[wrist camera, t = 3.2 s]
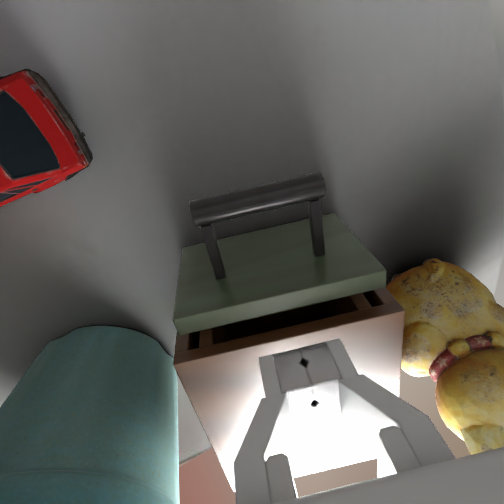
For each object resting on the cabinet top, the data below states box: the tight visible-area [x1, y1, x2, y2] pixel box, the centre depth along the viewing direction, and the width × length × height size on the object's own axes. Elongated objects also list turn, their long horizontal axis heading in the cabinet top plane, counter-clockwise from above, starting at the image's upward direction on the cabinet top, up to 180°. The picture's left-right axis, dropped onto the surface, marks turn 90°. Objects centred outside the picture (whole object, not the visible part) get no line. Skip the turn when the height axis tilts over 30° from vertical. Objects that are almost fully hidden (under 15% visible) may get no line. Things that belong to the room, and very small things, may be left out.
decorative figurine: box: [386, 258, 504, 455], centre depth 22 cm, size 10×8×15 cm
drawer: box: [173, 172, 386, 348], centre depth 22 cm, size 18×11×8 cm, turn 11°
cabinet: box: [173, 287, 405, 492], centre depth 24 cm, size 15×13×10 cm
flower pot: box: [0, 326, 180, 504], centre depth 22 cm, size 16×16×16 cm
